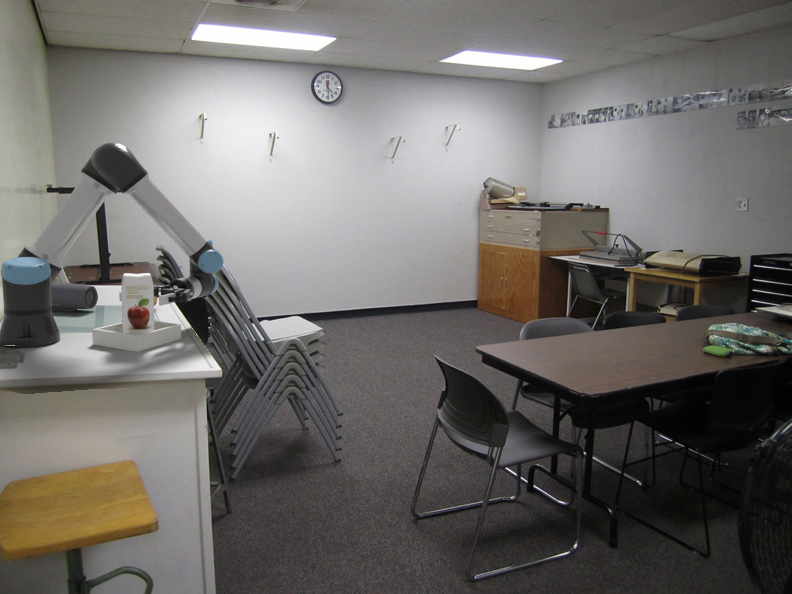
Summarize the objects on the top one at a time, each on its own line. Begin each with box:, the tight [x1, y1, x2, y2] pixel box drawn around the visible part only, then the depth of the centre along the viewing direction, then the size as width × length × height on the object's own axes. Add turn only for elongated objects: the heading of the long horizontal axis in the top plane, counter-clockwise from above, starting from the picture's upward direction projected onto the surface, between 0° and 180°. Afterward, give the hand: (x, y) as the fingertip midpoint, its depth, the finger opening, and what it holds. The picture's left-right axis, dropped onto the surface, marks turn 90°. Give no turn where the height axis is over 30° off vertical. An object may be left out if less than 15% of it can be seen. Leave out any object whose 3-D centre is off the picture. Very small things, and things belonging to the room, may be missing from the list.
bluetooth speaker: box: [51, 281, 99, 312], centre depth 215 cm, size 23×9×10 cm, turn 84°
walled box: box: [91, 320, 182, 353], centre depth 177 cm, size 18×16×4 cm
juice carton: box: [120, 272, 155, 335], centre depth 176 cm, size 8×9×19 cm
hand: (139, 298), depth 176 cm, fingers open, 13 cm apart
